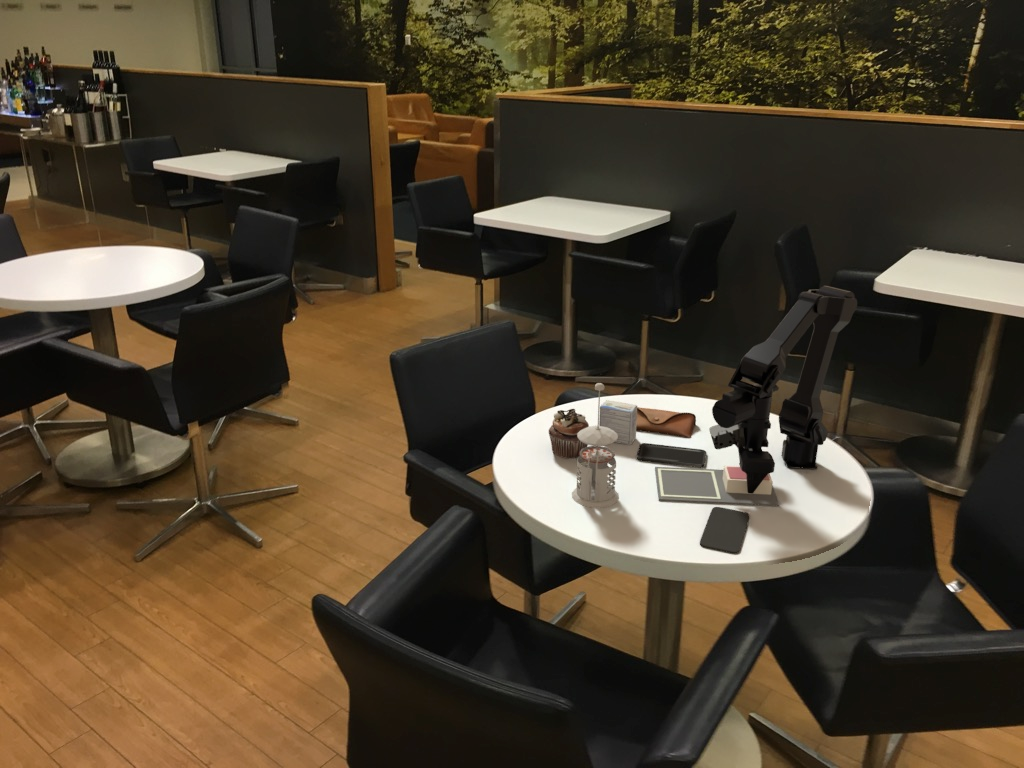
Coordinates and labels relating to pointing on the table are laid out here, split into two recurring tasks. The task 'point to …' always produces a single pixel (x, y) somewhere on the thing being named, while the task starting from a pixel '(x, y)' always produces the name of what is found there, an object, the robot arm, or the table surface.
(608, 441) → the french press
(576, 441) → the cupcake
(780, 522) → the table surface
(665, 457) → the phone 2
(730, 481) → the card deck
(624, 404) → the medicine box
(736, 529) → the phone
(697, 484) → the mat
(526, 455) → the table surface
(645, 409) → the sunglasses case
